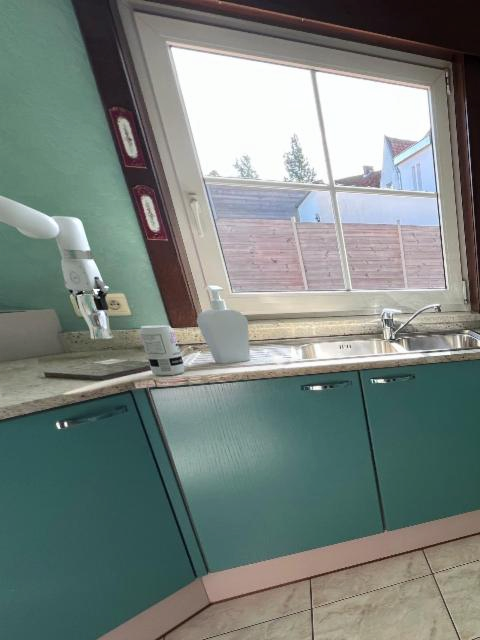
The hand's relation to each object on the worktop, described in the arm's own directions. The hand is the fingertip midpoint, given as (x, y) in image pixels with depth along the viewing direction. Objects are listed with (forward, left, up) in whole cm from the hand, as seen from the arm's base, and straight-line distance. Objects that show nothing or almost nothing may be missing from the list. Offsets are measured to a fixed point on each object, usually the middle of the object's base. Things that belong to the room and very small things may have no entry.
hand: (93, 309), depth 174 cm
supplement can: (+45, -20, -17) cm, 52 cm away
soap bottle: (+47, +2, -17) cm, 50 cm away
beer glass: (0, 0, -10) cm, 10 cm away
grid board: (+25, -22, -16) cm, 37 cm away
